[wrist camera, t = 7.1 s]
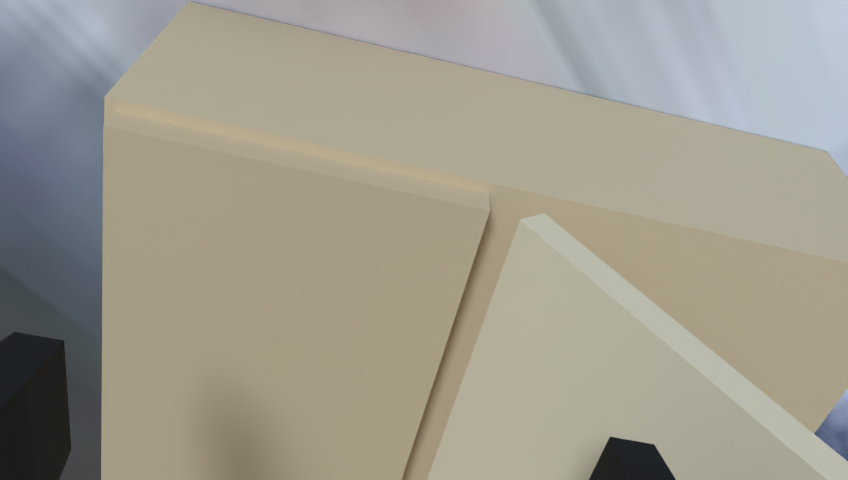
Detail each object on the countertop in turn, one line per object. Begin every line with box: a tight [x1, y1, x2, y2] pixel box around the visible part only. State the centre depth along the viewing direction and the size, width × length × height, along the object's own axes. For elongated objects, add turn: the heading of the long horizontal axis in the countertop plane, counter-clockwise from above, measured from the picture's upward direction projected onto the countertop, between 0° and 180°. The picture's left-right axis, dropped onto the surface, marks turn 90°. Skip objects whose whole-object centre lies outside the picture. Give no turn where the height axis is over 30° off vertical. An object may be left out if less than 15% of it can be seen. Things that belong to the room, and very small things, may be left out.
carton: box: [101, 1, 848, 480], centre depth 19 cm, size 15×12×6 cm
